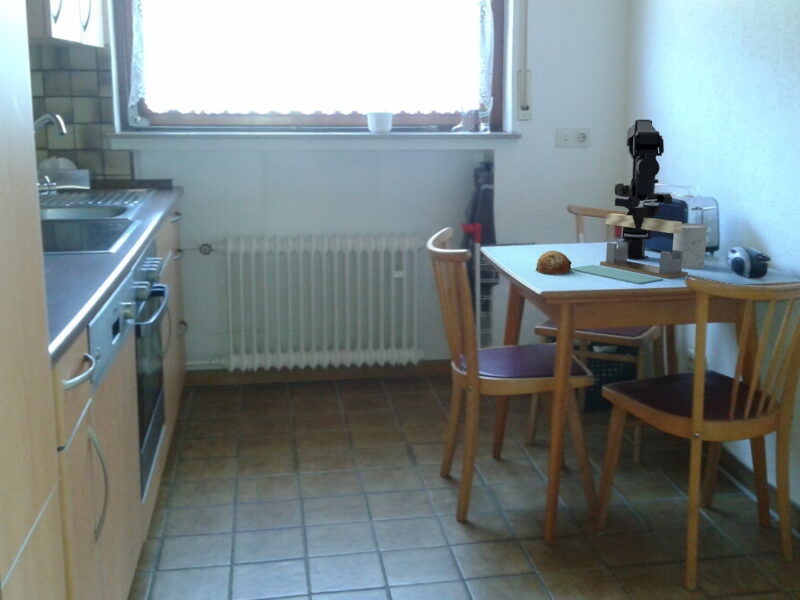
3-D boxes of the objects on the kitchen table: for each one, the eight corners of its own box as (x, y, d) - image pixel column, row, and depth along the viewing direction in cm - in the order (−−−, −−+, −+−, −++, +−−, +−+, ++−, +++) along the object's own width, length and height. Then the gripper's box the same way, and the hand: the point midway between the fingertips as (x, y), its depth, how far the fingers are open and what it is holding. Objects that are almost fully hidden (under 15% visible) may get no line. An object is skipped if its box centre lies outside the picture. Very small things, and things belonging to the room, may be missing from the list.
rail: (605, 223, 266) (606, 213, 265) (612, 223, 267) (612, 213, 267) (674, 233, 246) (675, 222, 245) (681, 232, 248) (681, 221, 247)
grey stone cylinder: (706, 264, 270) (709, 224, 267) (702, 269, 261) (705, 228, 259) (673, 262, 274) (676, 222, 271) (668, 267, 265) (671, 226, 263)
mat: (592, 266, 267) (592, 264, 267) (662, 280, 246) (662, 278, 246) (569, 269, 261) (569, 268, 261) (638, 284, 240) (638, 282, 240)
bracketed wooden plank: (599, 265, 269) (600, 242, 267) (617, 262, 273) (618, 239, 271) (669, 278, 248) (671, 254, 246) (687, 275, 252) (689, 251, 251)
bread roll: (538, 280, 264) (527, 256, 262) (569, 265, 264) (558, 241, 262) (546, 287, 255) (535, 262, 253) (578, 271, 254) (567, 247, 252)
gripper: (644, 172, 265) (641, 224, 268) (601, 175, 255) (598, 229, 258) (674, 175, 256) (671, 228, 260) (632, 177, 246) (628, 233, 249)
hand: (641, 229), depth 257 cm, fingers closed on rail, 3 cm apart
